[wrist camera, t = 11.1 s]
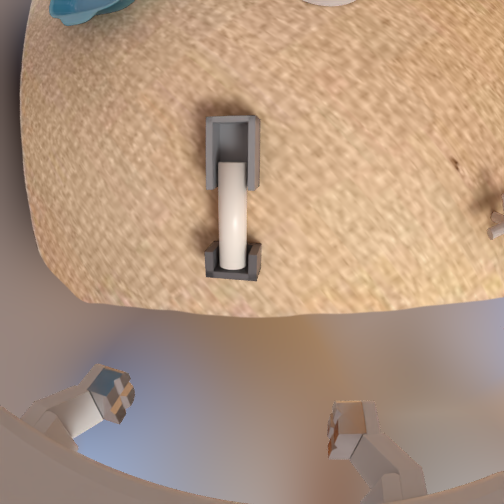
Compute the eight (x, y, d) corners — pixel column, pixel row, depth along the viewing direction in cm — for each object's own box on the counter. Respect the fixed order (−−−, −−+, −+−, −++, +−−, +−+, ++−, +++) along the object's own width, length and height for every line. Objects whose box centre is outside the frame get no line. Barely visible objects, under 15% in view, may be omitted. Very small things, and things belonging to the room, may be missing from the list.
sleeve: (216, 120, 41) (205, 116, 36) (260, 119, 40) (255, 115, 35) (215, 185, 44) (206, 189, 39) (259, 185, 43) (254, 190, 38)
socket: (213, 241, 47) (204, 251, 42) (261, 244, 46) (257, 255, 41) (214, 264, 48) (205, 277, 44) (260, 267, 47) (256, 281, 43)
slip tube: (222, 161, 41) (214, 163, 38) (249, 161, 41) (244, 163, 37) (223, 258, 46) (216, 268, 43) (248, 260, 46) (243, 270, 42)
